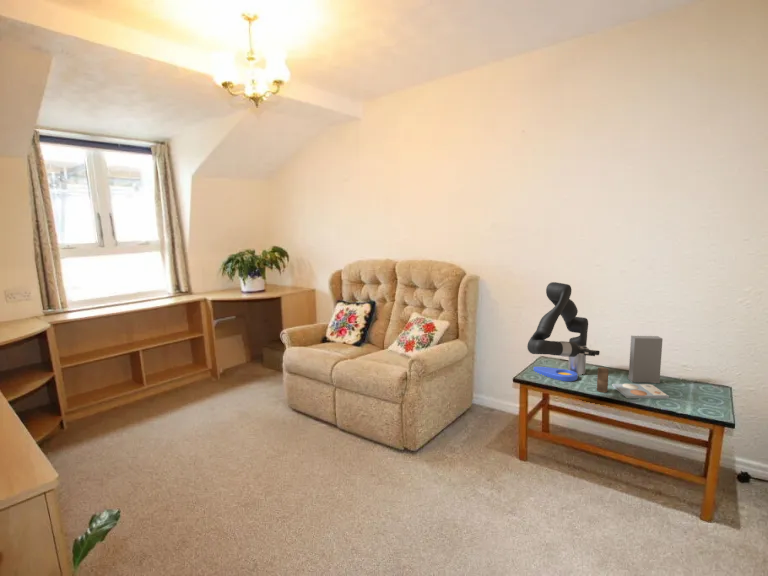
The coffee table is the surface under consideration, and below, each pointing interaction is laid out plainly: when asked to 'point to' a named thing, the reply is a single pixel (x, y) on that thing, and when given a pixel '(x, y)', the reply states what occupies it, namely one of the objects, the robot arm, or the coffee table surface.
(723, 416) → the coffee table surface
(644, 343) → the tall grey upright box
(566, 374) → the location marker
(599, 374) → the brown upright cylinder
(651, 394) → the board
